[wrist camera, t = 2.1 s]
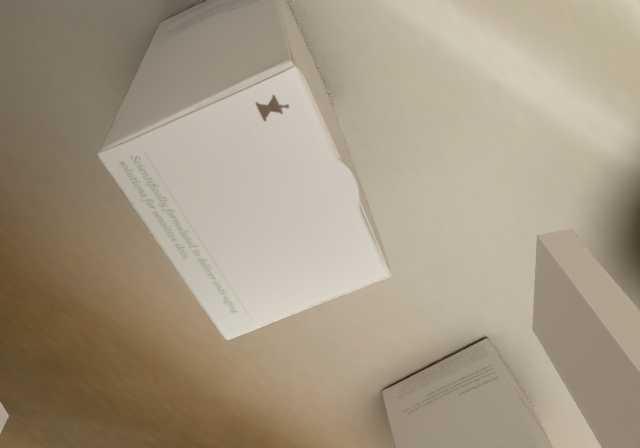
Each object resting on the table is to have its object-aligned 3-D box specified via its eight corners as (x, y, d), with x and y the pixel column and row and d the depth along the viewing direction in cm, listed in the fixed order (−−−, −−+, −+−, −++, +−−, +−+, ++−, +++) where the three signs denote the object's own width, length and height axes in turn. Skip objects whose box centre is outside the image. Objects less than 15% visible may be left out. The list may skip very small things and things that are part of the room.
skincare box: (158, 19, 30) (75, 143, 16) (280, -37, 29) (298, 45, 16) (234, 161, 34) (217, 351, 21) (343, 115, 33) (399, 283, 20)
